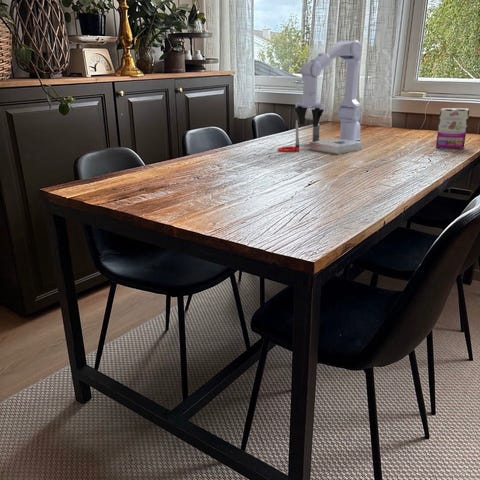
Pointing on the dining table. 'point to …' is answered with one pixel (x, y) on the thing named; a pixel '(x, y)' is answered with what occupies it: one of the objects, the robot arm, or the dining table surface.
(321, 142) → the bore block
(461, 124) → the candy bar box
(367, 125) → the dining table surface
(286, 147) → the tow hook
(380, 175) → the dining table surface
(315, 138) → the pin
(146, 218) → the dining table surface
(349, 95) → the robot arm
